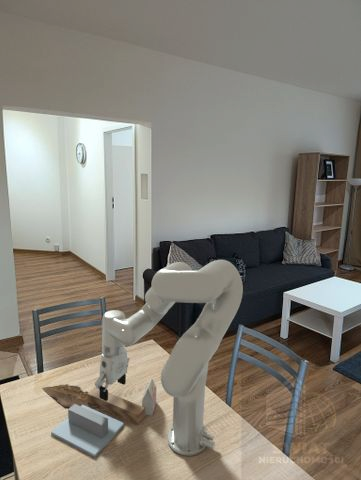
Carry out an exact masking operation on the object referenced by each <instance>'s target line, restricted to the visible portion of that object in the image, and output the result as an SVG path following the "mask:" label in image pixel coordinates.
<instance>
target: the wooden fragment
mask: <svg viewBox="0 0 361 480" xmlns="http://www.w3.org/2000/svg"><path fill="white" fill-rule="evenodd" d="M41 389H42V390H43V392H45V393H47V395H49V396H50V397H51V398H52V399H54V400H56V401H57V402H58V403H59V404H60V405H61V406H62V407H64V408H66V409H67V408H70V407H71V406H73V405H74V404H76V405H79V406H82V405H85V406H87V407H89V408H91V409H95V408H97V409H99V407H98V406H96V405H93V404H91V403H88V398H87V393H89V392H90V391H84V390H82V389H81V387H80V386H78V385H69V384H68V383H66V384H58V385H52V386H45V387H41Z"/></svg>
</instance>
